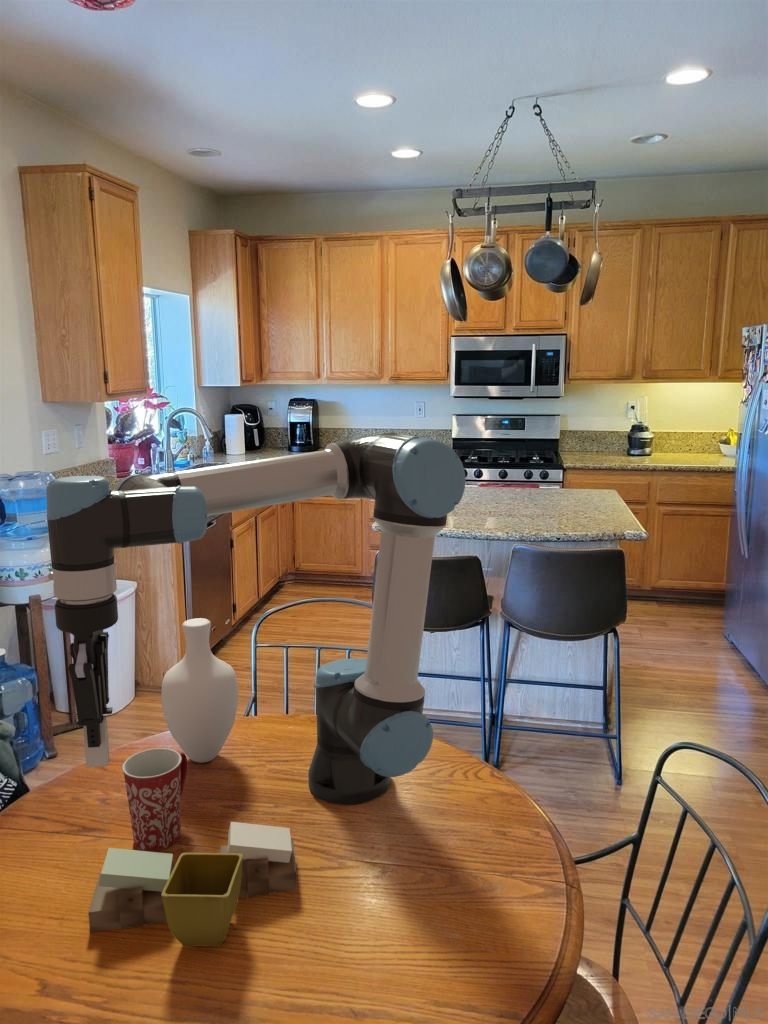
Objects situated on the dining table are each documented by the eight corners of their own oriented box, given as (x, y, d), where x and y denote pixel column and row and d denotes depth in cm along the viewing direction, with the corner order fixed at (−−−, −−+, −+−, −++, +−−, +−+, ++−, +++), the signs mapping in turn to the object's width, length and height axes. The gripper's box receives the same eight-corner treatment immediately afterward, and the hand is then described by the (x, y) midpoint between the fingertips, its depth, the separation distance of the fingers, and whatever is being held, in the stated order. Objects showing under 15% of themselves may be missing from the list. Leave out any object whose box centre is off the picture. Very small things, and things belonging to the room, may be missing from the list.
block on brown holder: (293, 854, 114) (292, 824, 113) (297, 890, 106) (296, 858, 105) (221, 862, 112) (220, 832, 111) (219, 900, 104) (218, 868, 103)
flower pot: (184, 908, 102) (181, 851, 101) (246, 909, 102) (243, 852, 100) (164, 957, 94) (159, 895, 92) (231, 959, 93) (228, 897, 92)
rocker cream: (286, 839, 112) (289, 828, 111) (289, 862, 106) (291, 851, 106) (228, 833, 110) (230, 821, 109) (227, 856, 104) (230, 844, 104)
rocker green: (170, 865, 106) (172, 853, 105) (166, 891, 100) (169, 879, 100) (106, 859, 104) (108, 847, 104) (98, 886, 98) (101, 873, 98)
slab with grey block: (179, 880, 108) (177, 849, 107) (174, 921, 100) (172, 888, 99) (101, 890, 106) (99, 858, 105) (89, 933, 98) (86, 898, 97)
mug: (162, 861, 112) (156, 781, 110) (115, 848, 116) (109, 770, 113) (210, 816, 124) (206, 743, 121) (166, 805, 127) (162, 733, 125)
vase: (172, 742, 149) (164, 611, 144) (243, 738, 151) (238, 608, 146) (159, 780, 135) (149, 636, 130) (237, 775, 137) (231, 633, 131)
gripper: (67, 583, 100) (79, 743, 104) (40, 613, 87) (56, 793, 91) (124, 581, 101) (134, 738, 105) (106, 610, 88) (118, 787, 93)
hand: (98, 764), depth 98 cm, fingers closed
